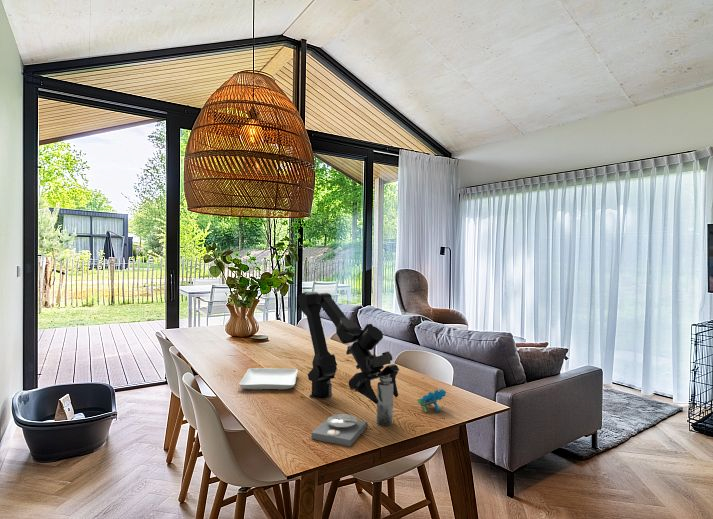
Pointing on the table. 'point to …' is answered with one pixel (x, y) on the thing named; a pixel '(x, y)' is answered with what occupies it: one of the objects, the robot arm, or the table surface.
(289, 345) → the table surface
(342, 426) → the scale pan
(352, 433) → the scale
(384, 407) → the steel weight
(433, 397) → the turquoise toy figurine
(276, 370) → the salad plate
